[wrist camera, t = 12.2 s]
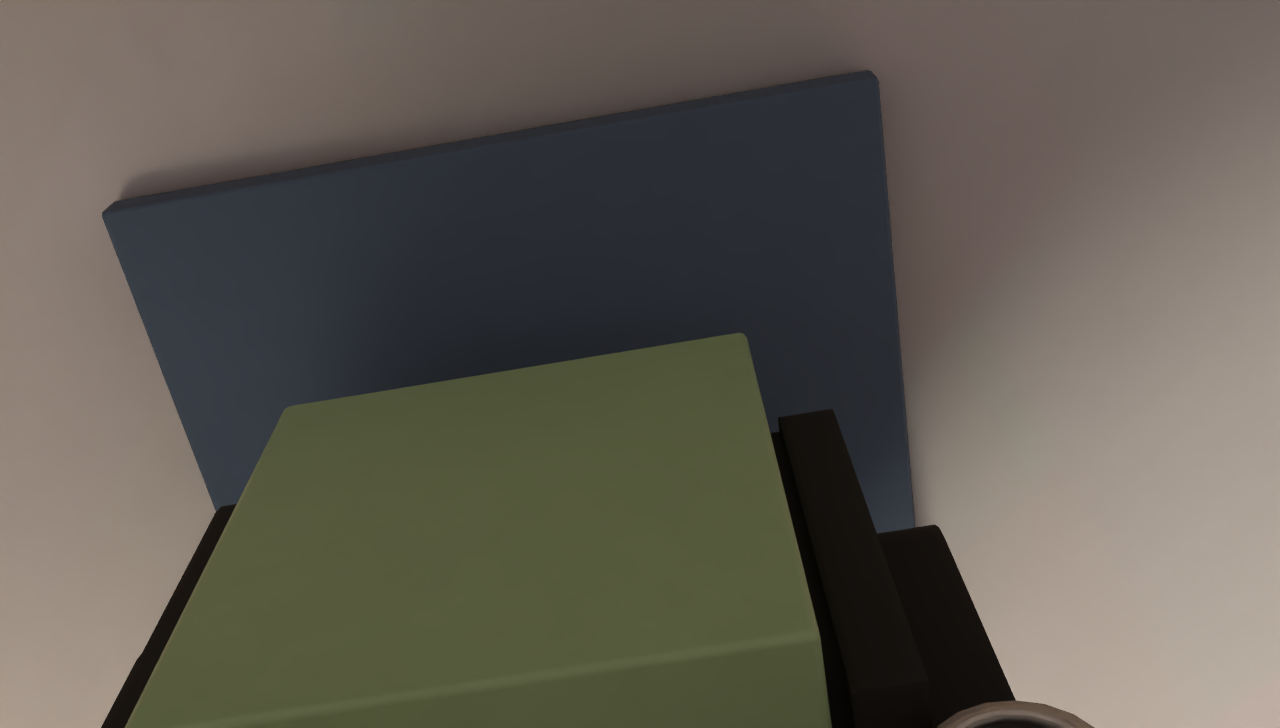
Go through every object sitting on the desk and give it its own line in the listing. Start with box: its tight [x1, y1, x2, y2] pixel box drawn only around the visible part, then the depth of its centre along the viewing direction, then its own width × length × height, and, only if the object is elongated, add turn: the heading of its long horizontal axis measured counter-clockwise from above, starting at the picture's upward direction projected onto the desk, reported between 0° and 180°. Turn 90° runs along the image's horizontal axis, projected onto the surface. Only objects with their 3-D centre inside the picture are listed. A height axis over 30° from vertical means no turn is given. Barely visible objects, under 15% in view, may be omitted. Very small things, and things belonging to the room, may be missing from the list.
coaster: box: [102, 70, 915, 533], centre depth 14 cm, size 8×8×1 cm
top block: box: [125, 333, 832, 728], centre depth 11 cm, size 4×4×4 cm
